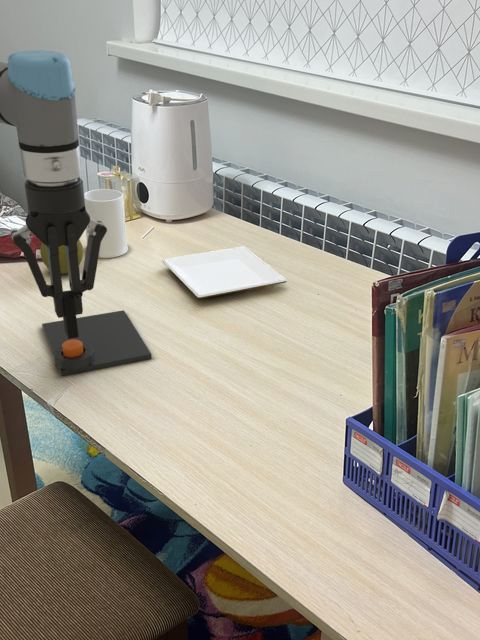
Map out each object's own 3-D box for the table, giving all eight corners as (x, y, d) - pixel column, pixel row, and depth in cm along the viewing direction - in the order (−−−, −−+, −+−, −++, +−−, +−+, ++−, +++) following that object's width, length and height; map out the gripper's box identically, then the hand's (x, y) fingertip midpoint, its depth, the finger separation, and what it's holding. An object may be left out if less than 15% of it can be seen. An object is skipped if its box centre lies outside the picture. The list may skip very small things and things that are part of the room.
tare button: (61, 350, 106) (60, 341, 105) (81, 346, 107) (80, 337, 106) (65, 359, 104) (64, 350, 103) (85, 355, 105) (84, 347, 104)
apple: (88, 275, 135) (85, 241, 131) (46, 281, 132) (41, 246, 128) (80, 261, 140) (77, 227, 137) (40, 266, 137) (35, 232, 134)
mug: (90, 237, 152) (85, 183, 146) (129, 237, 153) (126, 183, 147) (84, 258, 142) (79, 201, 136) (127, 258, 143) (123, 201, 137)
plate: (161, 268, 139) (160, 258, 138) (244, 254, 147) (244, 245, 146) (198, 306, 125) (198, 296, 124) (287, 289, 133) (288, 279, 132)
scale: (39, 328, 116) (37, 315, 114) (124, 314, 121) (123, 301, 120) (59, 378, 103) (57, 364, 102) (152, 360, 109) (151, 346, 107)
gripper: (5, 191, 86) (30, 354, 98) (109, 182, 91) (121, 337, 103) (-2, 175, 92) (22, 330, 104) (95, 166, 97) (108, 315, 109)
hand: (71, 333), depth 104 cm, fingers closed
